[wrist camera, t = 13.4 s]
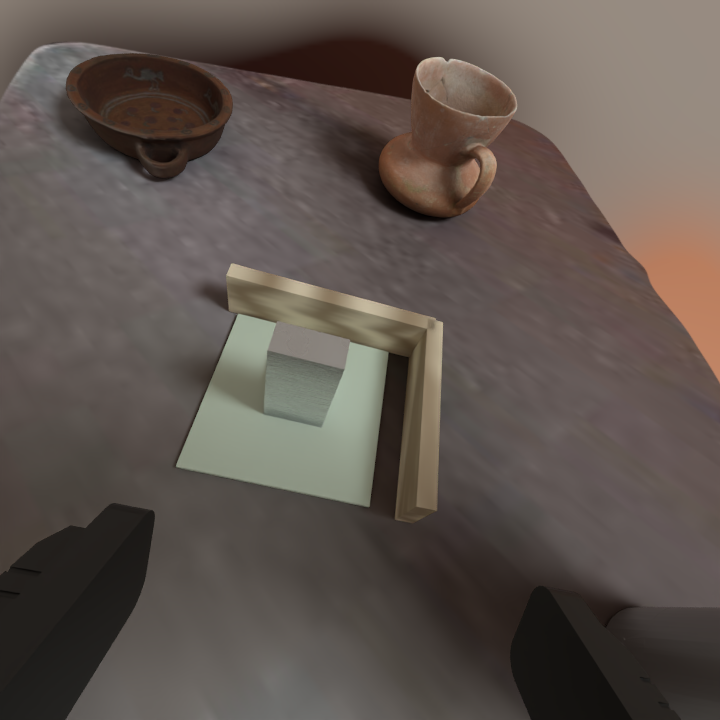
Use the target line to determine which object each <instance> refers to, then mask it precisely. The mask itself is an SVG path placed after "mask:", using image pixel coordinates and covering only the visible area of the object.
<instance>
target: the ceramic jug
mask: <svg viewBox="0 0 720 720" xmlns="http://www.w3.org/2000/svg"><path fill="white" fill-rule="evenodd" d="M516 109H517V102H516V97H515V95H514V94H513V93H512V91H511V89H510V88H509V87H508V86H506V85H505V83H503V82H502V81H501V80H499V79H497V78H496V77H495V76H493V75H492V74H490V73H489V72H486V71H484V70H482V69H481V68H479V67H477V66H474V65H472V64H469V63H467V62H464V61H460V60H457V59H450V60H449V61H448V62H446V61H445V60H444V59H443V58H441V57H434V58H429V59H425V60H423V61H422V62H420V64H419V65H418V66H417V68H416V71H415V75H414V80H413V87H412V100H411V125H412V132H409V133H405V134H402V135H399V136H397V137H395V138H393V139H392V140H391V141H390V142H388V143H387V145H386V146H385V147H384V149H383V150H382V152H381V154H380V158H379V173H380V177H381V180H382V182H383V184H384V186H385V187H386V189H387V190H388V192H389V193H390V194H391V195H392V196H393V197H394V198H395V199H396V200H398V201H399V202H400V203H402V204H403V205H404V206H406V207H408V208H410V209H412V210H414V211H416V212H419V213H421V214H425V215H428V216H433V217H443V218H446V217H455V216H459V215H461V214H463V213H465V212H467V211H468V210H470V209H471V208H472V207H473V206H474V205H475V204H476V202H477V201H478V199H479V198H480V197H481V196H482V195H483V194H484V193H485V192H486V191H487V189H488V188H489V187H490V185H491V183H492V181H493V179H494V176H495V173H496V167H497V163H496V159H495V157H494V155H493V153H492V152H491V151H490V150H489V149H487V147H488V146H489V145H490V144H491V143H492V142H493V141H494V140H495V139H496V137H497V136H498V135H499V134H500V133H501V131H502V130H503V129H504V128H505V126H506V125H507V124H508V122H509V121H510V120H511V118H512V116H513V115H514V113H515V111H516ZM475 158H477V159H478V160H479V162H480V169H479V166H478V164H477V163H476V161H475Z"/></svg>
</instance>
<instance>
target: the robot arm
mask: <svg viewBox="0 0 720 720" xmlns="http://www.w3.org/2000/svg"><path fill="white" fill-rule="evenodd" d="M154 520H155V514H154V511H153V510H148V509H142V508H137V507H132V506H127V505H121V504H116V503H113V504H110V505H109V506H108V507H106V508H105V509H104V510H103V511H102V512H101V513H100V514H99V515H98V516H97V517H96V518H95V519H94V520H93V521H92V522H91V523H90V524H89V525H88V526H87V527H86V528H81V527H76V526H69V527H67V528H65V529H63V530H61V531H59V532H57V533H55V534H53V535H51V536H49V537H47V538H45V539H43V540H42V541H40V542H38V543H36V544H35V545H34V546H33V547H32V548H31V549H30V550H29V551H27V552H26V553H25V554H24V555H23V556H22V557H21V558H19V559H18V560H17V561H16V562H15V563H14V564H13V565H12V566H11V567H10V569H9V571H8V572H6V571H5V572H4V573H3V574H1V575H0V720H65V719H66V718H67V716H68V714H69V713H70V711H71V710H72V708H73V706H74V705H75V703H76V701H77V700H78V698H79V697H80V695H81V693H82V692H83V690H84V689H85V687H86V685H87V684H88V682H89V681H90V679H91V677H92V676H93V674H94V672H95V671H96V669H97V668H98V666H99V664H100V663H101V661H102V660H103V658H104V656H105V655H106V653H107V651H108V650H109V648H110V647H111V645H112V643H113V642H114V640H115V639H116V637H117V635H118V634H119V632H120V631H121V629H122V627H123V626H124V624H125V622H126V621H127V619H128V618H129V616H130V614H131V613H132V611H133V609H134V607H135V605H136V603H137V601H138V598H139V596H140V593H141V590H142V588H143V584H144V581H145V577H146V571H147V565H148V558H149V552H150V546H151V539H152V533H153V527H154ZM510 660H511V668H512V673H513V677H514V679H515V682H516V684H517V687H518V689H519V692H520V694H521V696H522V699H523V701H524V704H525V706H526V708H527V711H528V713H529V716H530V718H531V720H720V608H699V607H633V608H626V609H624V610H621V611H619V612H618V613H617V614H615V615H614V616H613V617H612V618H611V620H610V621H609V623H608V625H607V627H606V628H605V627H604V626H603V625H601V623H600V622H599V621H598V619H597V618H596V617H595V615H594V614H593V612H592V611H591V610H590V608H589V607H588V606H587V604H586V603H585V601H584V600H583V599H582V598H581V596H579V595H578V594H577V593H575V592H571V591H565V590H560V589H555V588H550V587H544V586H538V587H536V588H535V589H534V590H533V592H532V594H531V596H530V599H529V601H528V604H527V606H526V609H525V611H524V614H523V616H522V619H521V621H520V624H519V626H518V629H517V631H516V634H515V636H514V639H513V641H512V645H511V652H510Z"/></svg>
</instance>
